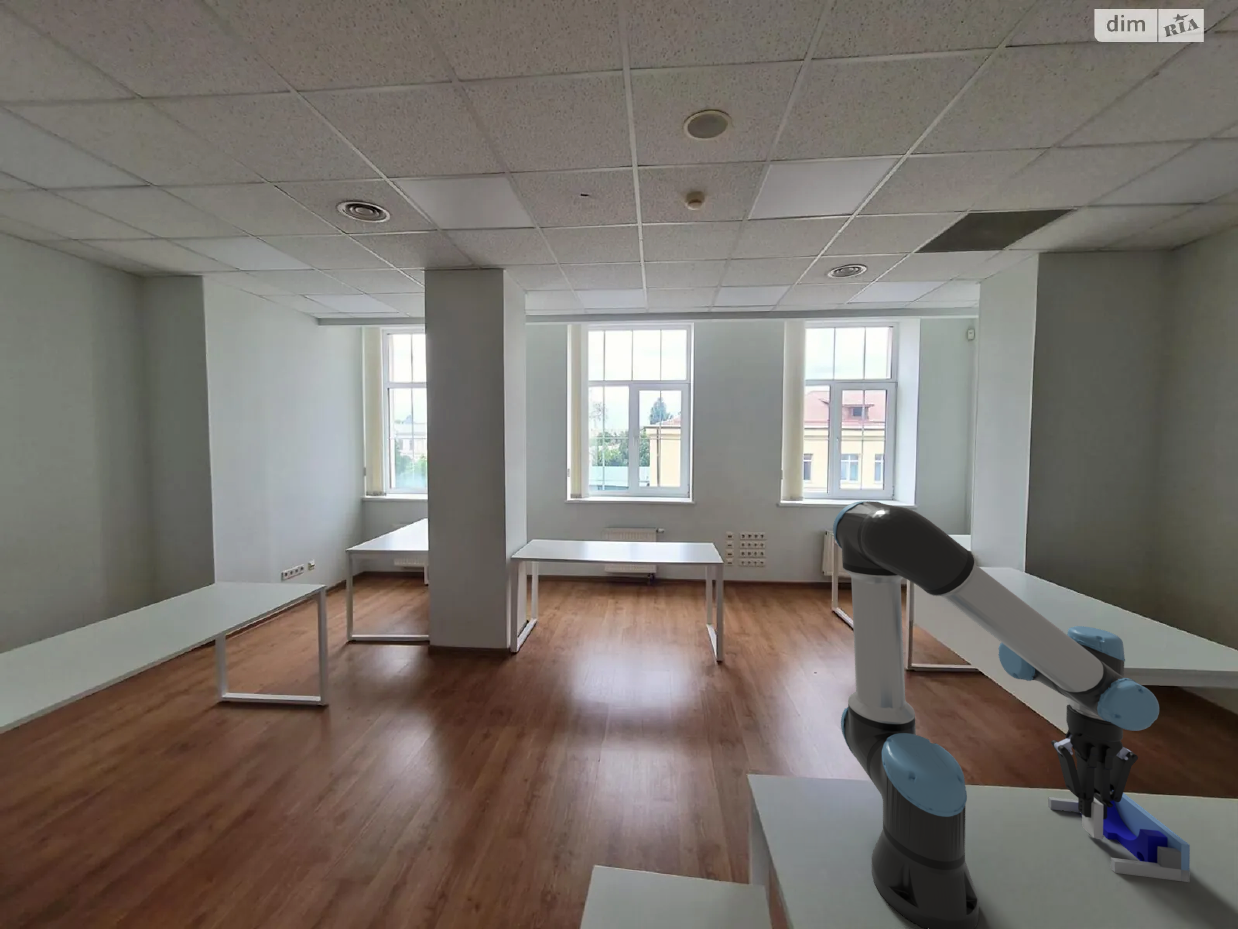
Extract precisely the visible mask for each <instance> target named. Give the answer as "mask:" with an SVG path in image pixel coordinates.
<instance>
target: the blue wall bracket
mask: <svg viewBox="0 0 1238 929" xmlns="http://www.w3.org/2000/svg"><path fill="white" fill-rule="evenodd" d="M1114 803H1115V807H1116V809H1117V812H1118V814H1119V816H1120V818H1121V819H1122V821H1123V822H1124V824H1125V825H1126V827H1127V828H1128V829H1129V830H1130V831H1131V832H1132V833H1133V834H1134V835H1135V836H1137V837H1138V835H1139V831H1140V829H1147V830H1157V831H1160V832H1161V833H1162V834H1164V835H1165V836H1166V837H1168V840H1167V847H1159V846H1158V850H1157V863H1151V862H1143V861H1139V860H1134V859H1127V858H1126V859H1125V858H1117V857H1110V869H1111V870H1112V872H1114V873H1115V874H1121V875H1122V874H1124V875H1130V876H1131V875H1132V876H1137V877H1147V878H1154V879H1160V880H1161V879H1163V880H1169V881H1177V882H1178V881H1179V882H1183V883H1184V882H1185V883H1190V876H1191V875H1190V870H1191V869H1190V866H1191V865H1190V863H1191V862H1190V861H1191V860H1190V857H1191V855H1190V854H1191V852H1190V850H1191V847H1190V846H1191V845H1190V844H1189V843H1188V842H1187V841H1186V840H1184V839H1183V838H1181V836H1179V835H1177V834H1176V832H1174V831H1172V830H1171V829H1170V828H1169V827H1168V826H1166V825H1165V824H1164V823H1163V822H1161V821H1160V820H1158V818H1156V817H1155V816H1153V814H1151V813H1150V812H1149V811H1147V810H1146V809H1145V808H1143V806H1141V805H1139V804H1138V803H1137V802H1136V801H1135V800H1134V799H1132V798H1131V797H1129V796H1128V795H1127V794H1126V793H1125V792H1123V795H1122V798H1121V801H1120V802H1115V801H1114ZM1047 807H1048V808H1049V809H1050V810H1054V811H1055V810H1056V811H1062V810H1064V811H1065V812H1071V811H1074V812H1073V813H1080V812H1079V809H1078V799H1071V798H1060V797H1053V796H1051V797H1050V796H1048V798H1047ZM1064 811H1063V812H1064Z"/></svg>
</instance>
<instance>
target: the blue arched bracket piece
mask: <svg viewBox="0 0 1238 929" xmlns="http://www.w3.org/2000/svg"><path fill="white" fill-rule="evenodd" d="M1110 802H1111V803H1112V804H1113V807H1107V818H1106V819H1103V837H1105V838H1106V839H1107V840H1110V841H1111V840H1113V841H1117V842H1118V843H1119V844H1120V845H1121V846H1122V847H1123V848H1125V849H1126V850H1127V851H1129V853H1131V854H1132V855H1133V856H1134V857H1135V858H1136V860H1137V861H1143V862H1151V863H1157V850H1158V846H1159V847H1167V840H1168V837H1166V836H1165V835H1164V834H1162V833H1161V832H1160V831H1157V830H1147V829H1140V831H1139V835H1138V837H1137V836H1135V835H1134V834H1133V833H1132V832H1131V831H1130V830H1129V829H1128V828H1127V827H1126V825H1125V824H1124V822H1123V821H1122V819H1121V818H1120V816H1119V814H1118V812H1117V809H1116V807H1115V803H1114V801H1110ZM1080 815H1081V816H1082V814H1081V813H1080Z"/></svg>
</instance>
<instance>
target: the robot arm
mask: <svg viewBox="0 0 1238 929" xmlns="http://www.w3.org/2000/svg"><path fill="white" fill-rule="evenodd" d="M832 526H833V527H832V534H833V539H834V540H835V542H836V544H837V546H838V547H839V548H840V549H841V560H842V569H843V571H844V572H845V573H847V575H848V576H850V578H851V579H850V580H851V598H852V601H851V602H852V624H853V625H852V628H853V649H854V650H853V651H854V652H853V653H854V676H855V679H854V680H855V692H853V693H851V694H850V696H849V695H848V696H849V697H848V699H847V704H848V705H847V707H846V708H844V710H843V712H842V714H841V717H840V718H841V719H840V729H841V733H842V736H843V739H844V742H845V743H846V746H847V748H848V749H849V751H850V753H851V754H852V756H854V757H855V759H856V760H857V761H858V763H859V764H860V766H861V767H862V769H863V770H864V771H865V773H866V775H867V776H868V778H869V779H870V781H871V782H872V783H873V785H874V786H875V788H876V789H877V791H878V792H879V794H880V796H881V798H882V829H881V832H880V834H879V837H878V838H877V841H876V844H875V846H874V849H873V851H872V853H871V876H872V880H873V882H874V885H875V886H876V889H878V892H879V893H880V895H881V896H882V897H883V898H884V900H885V901H886V902H887V903H888V904H889V905H890V906H891V907H892V908H893V909H894V910H895V911H896V912H898V913H899V915H901V916H903V917H904V918H906V919H907V920H909V921H910V922H912V923H914V924H916V925H918V926H920V927H921V928H924V929H926V928H929V929H975V928H976V927H977V926H978V923H979V920H980V918H979V917H980V915H979V914H980V913H979V912H980V909H979V908H980V905H979V904H980V903H979V897H978V894H977V891H976V888H975V885H974V882H973V879H972V877H971V873H970V870H969V868H968V865H967V862H966V804H967V799H968V794H967V789H966V788H967V787H966V782H965V775H964V772H963V769H962V767H961V765H960V764H959V762H958V761H957V760H956V758H955V757H954V756H953V755H952V754H951V753H950V752H949V751H948V750H947V749H945V748H944V747H943V746H941V745H940V744H938V743H937V742H936V743H934V742H931V741H930V739H928V738H926V737H924V736H921V735H918V734H917V732H916V731H917V730H916V712H915V709H914V708H913V706H912V705H911V704H910V703H908V702H907V701H906V690H905V689H906V688H905V684H906V683H905V662H904V661H905V660H904V659H905V658H904V640H903V639H904V638H903V637H904V634H903V631H904V630H903V613H902V611H903V609H902V588H901V587H902V585H901V583H902V582H901V581H902V580H904V579H906V580H907V581H909V582H911V583H913V584H915V585H916V586H917V587H919V588H920V589H921V590H923V591H924V592H926V593H927V594H928V595H930V596H933V597H942V598H943V599H944V600H945V601H947V602H949V604H950V605H952V606H953V607H955V608H956V609H958V611H960V612H962V614H964V615H965V616H966V617H968V618H969V619H970V620H971V621H973V622H974V623H975V624H977V625H978V626H979V627H981V628H982V629H983V630H984V631H986V632H987V633H988V634H990V635H991V636H993V638H995V639H996V640H998V641H999V642H1000V644H999V645H998V658H999V663H1000V664H1001V666H1002V668H1003V670H1004V671H1005V672H1006V674H1007V675H1009V676H1010V677H1012V678H1014V679H1017V680H1023V681H1024V680H1025V681H1027V682H1031V681H1035V682H1039V683H1041V684H1043V686H1044V685H1045V686H1046V687H1048V688H1050V689H1052V690H1053V691H1055V692H1057V693H1059V694H1060V695H1062V696H1064V697H1066V703H1067V705H1066V715H1065V716H1066V717H1065V718H1066V724H1067V728H1068V729H1067V731H1066V733H1065V739H1064V738H1063V739H1062V740H1060V741H1057V740H1056V739H1053V740H1051V741H1050V744H1051V746H1052V747H1053V749H1054V750H1055V751H1056V754H1057V756H1058V761H1059V765H1060V769H1061V773H1062V777H1063V781H1064V784H1065V787H1066V789H1067V790H1069V791H1070V792H1071V794H1073V795H1074V796H1075V797H1076V798H1078V799H1077V800H1078V809H1079V812H1078V813H1080V815H1081V814H1082V815H1081V827H1082V828H1083V829H1084V830H1085V831H1086V832H1087V833H1088V834H1089V835H1090V836H1091V837H1092V838H1093V839H1099V840H1104V839H1103V838H1104V835H1103V819H1106V818H1107V807H1113V804H1112V803H1111V802H1110V801H1115V802H1120V801H1121V798H1122V795H1123V793H1125V790H1126V789H1125V788H1126V786H1127V782H1128V779H1129V775H1130V772H1131V769H1132V766H1133V765H1134V764H1135V763H1136V762H1137V760H1138V759H1139V756H1138V755H1137V754H1136V753H1134V752H1133V751H1131V750H1130V749H1128V748H1127V747H1125V746H1123V745H1124V744H1123V742H1122V740H1123V738H1124V730H1126V731H1131V732H1132V731H1133V732H1134V731H1137V732H1138V731H1142V730H1145V729H1148V728H1149V727H1151V726H1152V724H1154V722H1155V721H1157V719H1158V717H1159V714H1160V704H1159V701H1158V699H1157V697H1156V696H1155V694H1154V693H1153V692H1152V691H1151V690H1150V689H1148V688H1147V687H1145V686H1143V685H1141V683H1138V682H1136V680H1134V679H1132V678H1129V677H1125V662H1126V658H1125V648H1124V643H1123V640H1122V638H1121V637H1120V636H1118V635H1116V634H1114V633H1112V632H1110V631H1107V630H1105V629H1104V630H1103V629H1101V628H1095V627H1090V626H1082V625H1075V626H1072V627H1069V628H1067V629H1068V630H1067V634H1066V632H1064V631H1063V630H1061V629H1060V628H1059V627H1058V626H1056V625H1055V624H1054V623H1052V622H1051V621H1050V620H1049V619H1047V618H1046V617H1045V616H1043V615H1042V614H1041V613H1039V612H1038V611H1037V610H1036V609H1034V608H1033V607H1032V606H1030V605H1029V604H1028V603H1026V602H1025V601H1024V600H1022V599H1021V598H1020V597H1019V596H1017V595H1016V594H1014V592H1012V591H1011V590H1010V589H1008V588H1007V587H1005V585H1003V584H1002V583H1000V582H999V581H998V580H997V579H995V578H994V577H993V576H991V575H990V574H989V573H988V572H986V571H985V570H983V569H982V568H981V567H980V566H978V565H977V561H976V558H975V556H974V554H973V553H972V552H971V551H969V549H967V548H965V547H964V546H962V544H961V543H959V542H958V541H957V540H956V539H954V538H952V537H951V536H950V535H949V534H947V533H946V532H945V531H944V530H943V529H941V528H940V527H939V526H937V525H936V524H935V523H933V522H932V521H931V520H929V519H928V518H926V517H925V516H923V515H922V514H920V513H919V512H917V511H914V510H912V509H909V508H906V507H903V506H896V505H891V504H887V503H882V502H879V501H871V500H868V501H866V500H863V501H862V500H861V501H856V502H855V501H854V502H853V503H850V504H848V505H846V506H844V507H843V509H841V510H840V511H839V512H838V514H837V515H836V517H835V518H834V522H833V524H832ZM1072 749H1073V750H1074V752H1073V750H1072ZM1073 755H1074V757H1075V758H1076V762H1075V758H1074V757H1073ZM1075 763H1076V764H1075Z"/></svg>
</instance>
